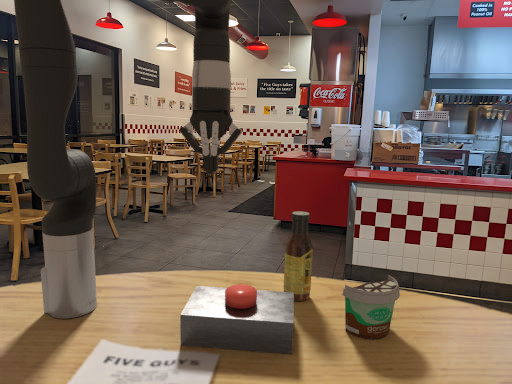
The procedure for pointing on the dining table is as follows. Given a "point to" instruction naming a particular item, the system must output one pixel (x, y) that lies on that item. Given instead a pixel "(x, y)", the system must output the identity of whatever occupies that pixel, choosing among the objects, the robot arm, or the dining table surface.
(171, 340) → the dining table surface
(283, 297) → the console
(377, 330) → the food container
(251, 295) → the red button
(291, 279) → the sauce bottle
